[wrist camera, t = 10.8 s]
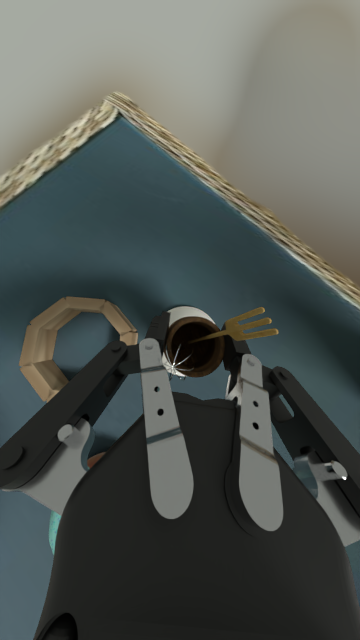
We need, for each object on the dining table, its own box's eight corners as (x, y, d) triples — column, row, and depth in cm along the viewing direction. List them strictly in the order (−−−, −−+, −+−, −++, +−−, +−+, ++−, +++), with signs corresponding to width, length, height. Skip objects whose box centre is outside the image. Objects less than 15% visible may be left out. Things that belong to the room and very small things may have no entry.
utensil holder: (156, 334, 18) (125, 327, 6) (197, 312, 19) (240, 268, 7) (177, 374, 18) (188, 451, 6) (219, 350, 18) (305, 374, 6)
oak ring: (100, 286, 23) (88, 278, 20) (154, 351, 22) (151, 353, 19) (24, 342, 21) (0, 343, 18) (80, 415, 20) (64, 429, 17)
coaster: (188, 294, 23) (188, 293, 23) (231, 343, 23) (233, 343, 22) (137, 336, 22) (136, 336, 21) (181, 390, 21) (182, 391, 21)
